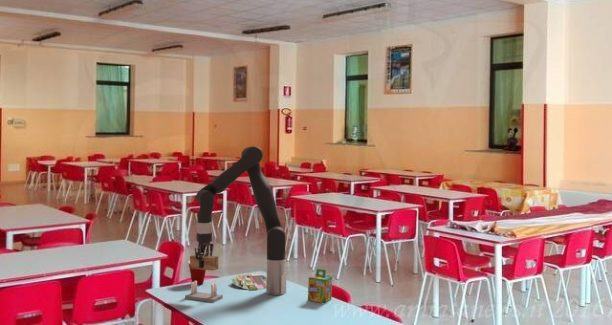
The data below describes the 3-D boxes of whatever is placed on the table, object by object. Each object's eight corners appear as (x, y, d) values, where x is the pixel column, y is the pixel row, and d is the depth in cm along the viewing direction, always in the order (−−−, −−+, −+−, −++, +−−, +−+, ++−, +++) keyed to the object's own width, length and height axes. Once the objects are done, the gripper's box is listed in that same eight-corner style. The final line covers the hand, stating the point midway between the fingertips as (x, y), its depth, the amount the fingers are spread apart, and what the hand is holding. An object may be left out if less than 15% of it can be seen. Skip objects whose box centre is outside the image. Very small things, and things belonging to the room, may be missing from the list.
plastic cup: (201, 287, 310) (202, 264, 310) (183, 285, 314) (183, 262, 314) (212, 282, 321) (212, 260, 320) (194, 280, 324) (194, 258, 324)
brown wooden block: (195, 266, 294) (195, 254, 294) (218, 268, 290) (218, 256, 289) (190, 268, 290) (190, 255, 290) (213, 270, 286) (213, 258, 285)
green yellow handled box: (307, 301, 288) (307, 270, 288) (314, 296, 297) (315, 267, 296) (325, 303, 285) (325, 272, 284) (332, 299, 293) (332, 269, 293)
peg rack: (222, 298, 291) (222, 282, 291) (214, 302, 284) (214, 286, 284) (194, 294, 297) (194, 279, 297) (185, 298, 290) (185, 283, 290)
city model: (247, 297, 301) (248, 286, 300) (220, 283, 318) (221, 272, 317) (285, 290, 318) (286, 279, 317) (258, 276, 335) (259, 266, 334)
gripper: (205, 228, 297) (205, 263, 298) (189, 233, 284) (189, 269, 285) (218, 230, 294) (218, 264, 295) (203, 234, 281) (202, 270, 282)
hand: (204, 266), depth 290 cm, fingers closed on brown wooden block, 4 cm apart
